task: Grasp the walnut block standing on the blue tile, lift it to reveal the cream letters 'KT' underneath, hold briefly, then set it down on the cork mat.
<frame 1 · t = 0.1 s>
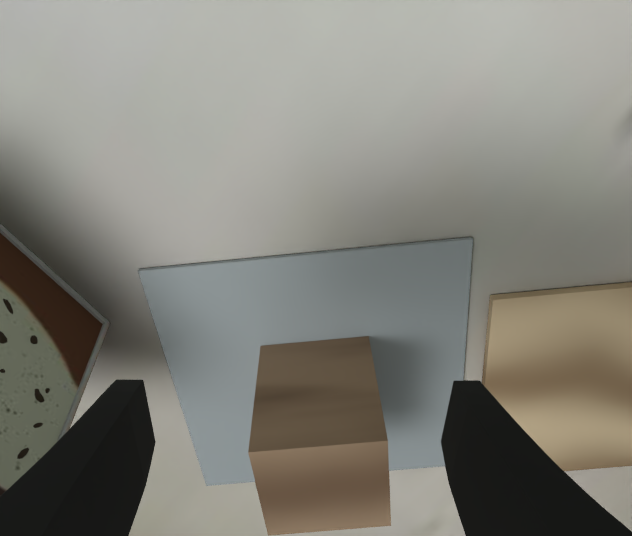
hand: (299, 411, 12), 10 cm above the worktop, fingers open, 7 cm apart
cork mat: (601, 383, 25), on the worktop
walnut block: (319, 381, 24), resting on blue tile
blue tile: (319, 378, 24), on the worktop
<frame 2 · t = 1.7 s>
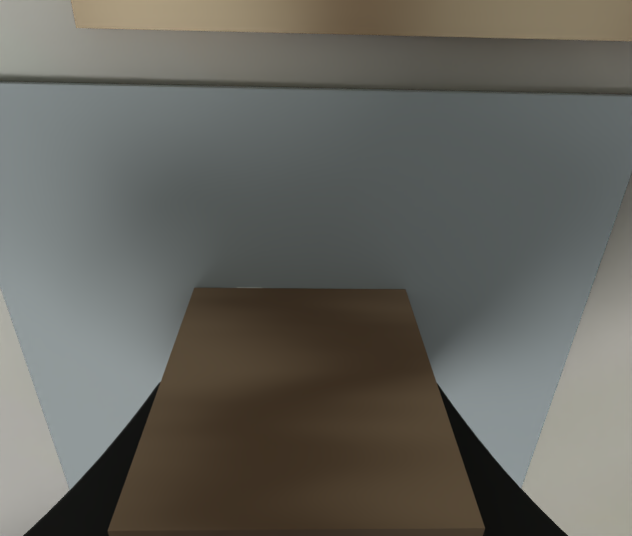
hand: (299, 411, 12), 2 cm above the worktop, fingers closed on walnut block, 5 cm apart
walnut block: (299, 369, 13), resting on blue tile, touching gripper
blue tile: (299, 363, 13), on the worktop
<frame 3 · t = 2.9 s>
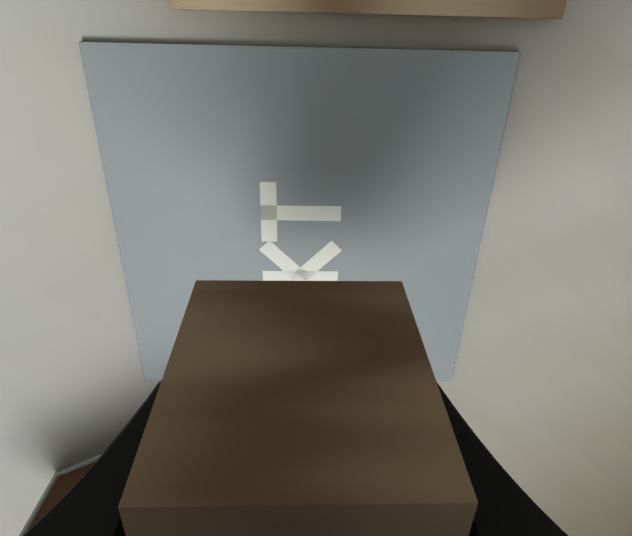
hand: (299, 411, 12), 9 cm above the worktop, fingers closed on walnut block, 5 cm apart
food container: (166, 474, 26), on the worktop
walnut block: (299, 360, 13), point 7 cm above the worktop, touching gripper
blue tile: (300, 241, 19), on the worktop
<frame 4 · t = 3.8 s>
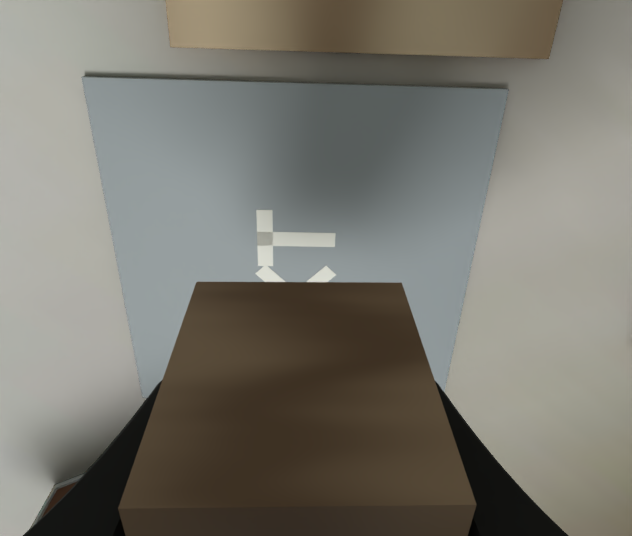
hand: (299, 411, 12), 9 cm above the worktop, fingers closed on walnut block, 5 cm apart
food container: (163, 487, 27), on the worktop
walnut block: (299, 361, 13), point 7 cm above the worktop, touching gripper
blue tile: (296, 266, 20), on the worktop
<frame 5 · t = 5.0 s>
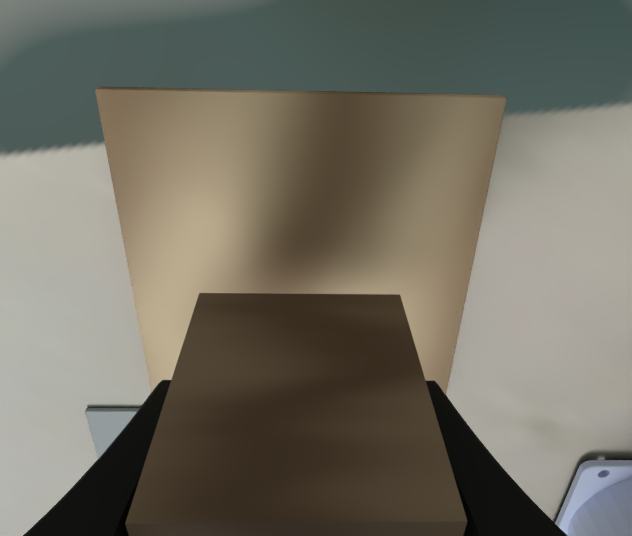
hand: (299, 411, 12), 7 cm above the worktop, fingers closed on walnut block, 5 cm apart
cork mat: (301, 265, 18), on the worktop
walnut block: (299, 369, 14), point 5 cm above the worktop, touching gripper
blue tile: (258, 511, 25), on the worktop
when the fingers open (4 cm above the worktop, at t = 6.1 s): walnut block drops 1 cm, resting on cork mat.
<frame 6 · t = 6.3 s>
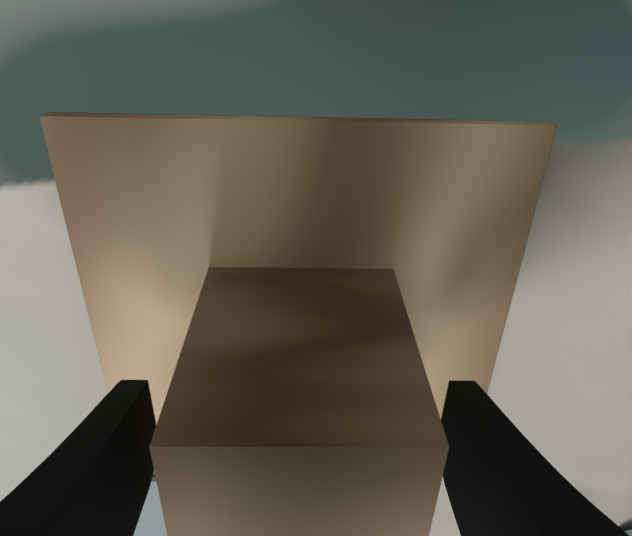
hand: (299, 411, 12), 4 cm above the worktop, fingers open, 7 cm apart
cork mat: (300, 321, 15), on the worktop
walnut block: (300, 341, 15), resting on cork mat
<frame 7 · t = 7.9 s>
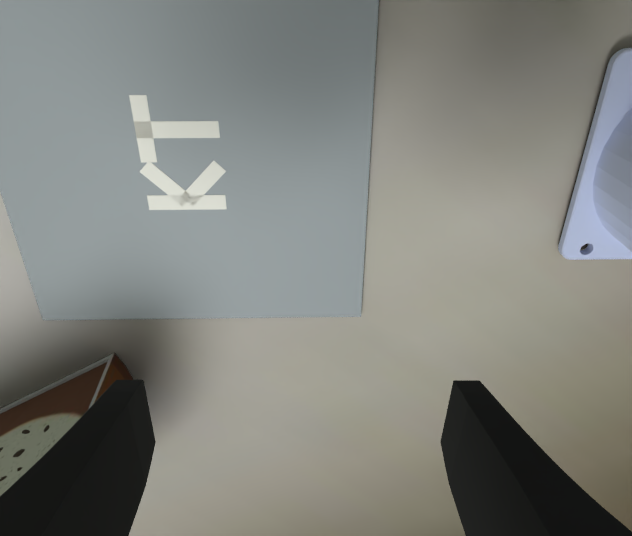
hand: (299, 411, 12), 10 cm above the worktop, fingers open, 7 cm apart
food container: (83, 425, 26), on the worktop
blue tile: (183, 163, 19), on the worktop
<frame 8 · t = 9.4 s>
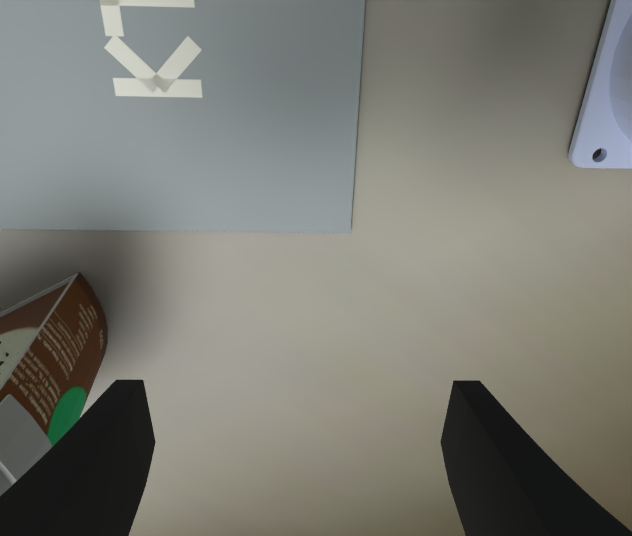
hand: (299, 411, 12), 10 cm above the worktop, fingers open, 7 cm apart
food container: (46, 358, 24), on the worktop
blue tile: (153, 39, 17), on the worktop
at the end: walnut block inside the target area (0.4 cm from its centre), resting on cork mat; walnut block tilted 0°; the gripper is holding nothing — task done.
